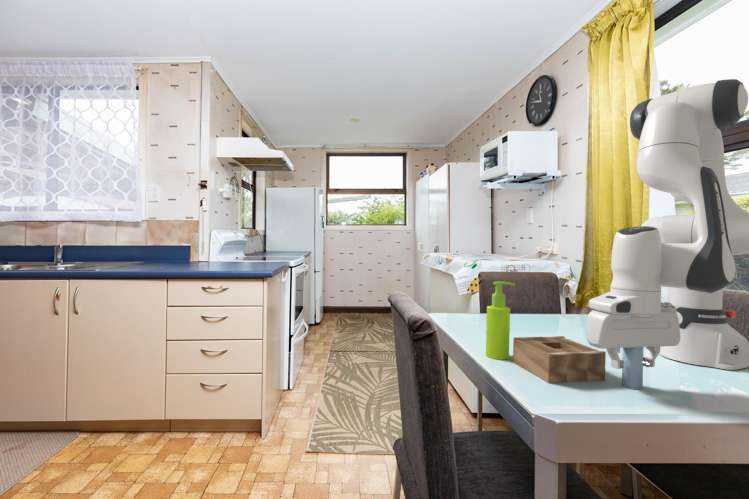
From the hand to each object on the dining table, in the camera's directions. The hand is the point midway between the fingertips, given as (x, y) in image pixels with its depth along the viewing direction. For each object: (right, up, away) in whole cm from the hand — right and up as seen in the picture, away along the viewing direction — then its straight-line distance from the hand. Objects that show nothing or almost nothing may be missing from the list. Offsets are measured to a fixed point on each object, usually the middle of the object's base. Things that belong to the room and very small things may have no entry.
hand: (632, 367), depth 78 cm
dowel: (0, -4, 0) cm, 4 cm away
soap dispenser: (-22, -4, +20) cm, 30 cm away
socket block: (-12, -4, +9) cm, 15 cm away
